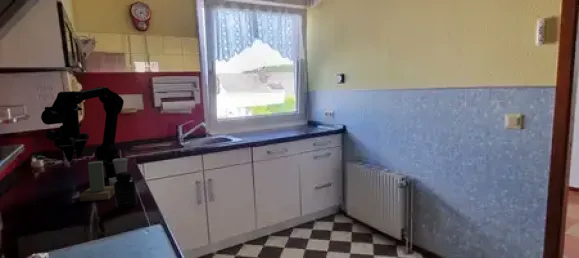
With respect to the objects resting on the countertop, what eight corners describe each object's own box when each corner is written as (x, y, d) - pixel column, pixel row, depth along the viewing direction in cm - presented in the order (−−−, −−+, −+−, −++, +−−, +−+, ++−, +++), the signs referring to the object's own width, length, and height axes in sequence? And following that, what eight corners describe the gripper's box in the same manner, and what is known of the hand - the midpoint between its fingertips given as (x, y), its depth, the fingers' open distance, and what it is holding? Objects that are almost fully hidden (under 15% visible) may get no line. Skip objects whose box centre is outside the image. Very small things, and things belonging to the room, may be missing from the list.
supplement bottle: (117, 204, 120) (114, 172, 119) (137, 201, 123) (134, 170, 121) (114, 210, 114) (111, 176, 112) (136, 207, 116) (133, 174, 115)
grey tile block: (109, 187, 143) (108, 178, 142) (129, 183, 147) (128, 174, 147) (112, 191, 136) (111, 182, 136) (133, 187, 141) (132, 178, 140)
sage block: (91, 189, 131) (89, 162, 130) (104, 187, 133) (102, 160, 132) (90, 192, 127) (87, 164, 125) (104, 190, 129) (101, 162, 128)
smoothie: (132, 178, 155) (130, 148, 153) (122, 182, 149) (119, 151, 147) (121, 177, 157) (118, 148, 155) (111, 181, 151) (107, 151, 149)
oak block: (91, 194, 134) (90, 187, 134) (117, 192, 136) (116, 185, 135) (80, 203, 124) (79, 195, 124) (108, 200, 126) (107, 193, 126)
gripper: (59, 121, 142) (63, 156, 144) (36, 125, 124) (40, 166, 126) (87, 120, 145) (91, 155, 146) (69, 123, 127) (73, 163, 128)
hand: (74, 159), depth 137 cm, fingers open, 9 cm apart
